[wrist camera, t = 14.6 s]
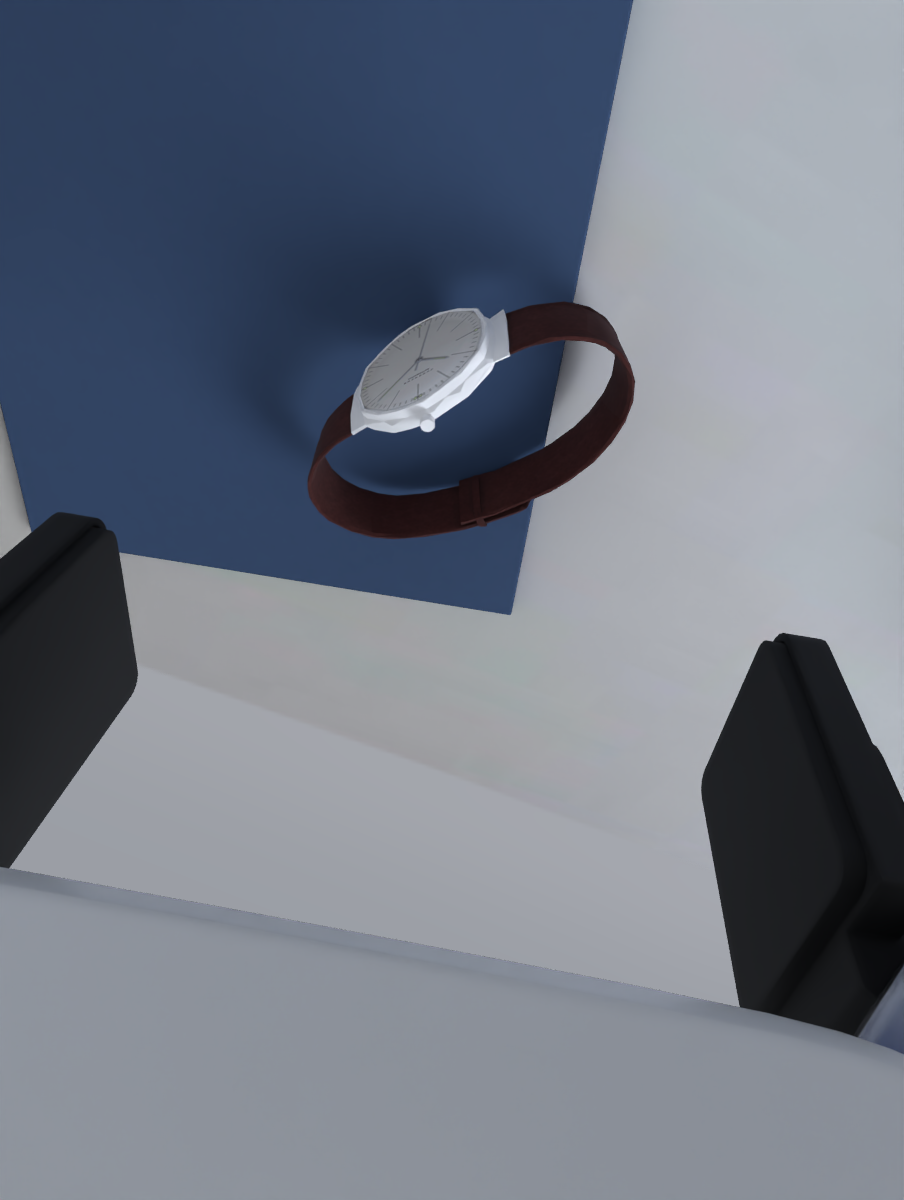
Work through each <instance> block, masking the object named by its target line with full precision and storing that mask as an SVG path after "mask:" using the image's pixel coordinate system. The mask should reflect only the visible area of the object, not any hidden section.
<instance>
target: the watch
mask: <svg viewBox="0 0 904 1200" xmlns="http://www.w3.org/2000/svg"><path fill="white" fill-rule="evenodd" d="M560 340H569V341H586V342H592V343H596V344H599V345H601V346H604V347H606V348H607V349H608V350H610V351H611V352H612V353H613V354H615V360H614V366H613V372H612V376H611V378H610V380H609V382H608V384H607V387H606V389H605V391H604V393H603V394H602V396H601V397H600V398H599V400H598V401H597V402H596V404H595V405H594V406H593V408H592V409H591V410H590V412H589V413H588V414H587V415H586V416H585V417H584V418H583V419H582V420H581V421H580V422H579V423H578V424H577V425H576V426H575V427H573V428H572V429H571V430H569V431H568V432H566V433H565V434H564V435H562V436H561V437H559V438H558V439H557V440H555V441H554V442H552V443H551V444H549V445H548V446H546V447H544V448H542V449H541V450H539V451H536V452H534V453H532V454H530V455H528V456H525V457H523V458H521V459H519V460H517V461H515V462H512V463H510V464H508V465H506V466H504V467H501V468H499V469H497V470H495V471H491V472H487V473H483V474H480V475H475V476H473V477H470V478H466V479H463V480H460V481H459V486H454V487H450V488H446V489H441V490H437V491H432V492H428V493H422V494H410V495H398V496H396V495H388V494H381V493H376V492H373V491H370V490H366V489H363V488H360V487H357V486H356V485H354V484H352V483H350V482H348V481H346V480H344V479H343V478H342V477H341V476H340V475H338V474H337V473H336V472H335V471H334V470H333V469H332V468H331V466H330V464H329V463H328V461H327V459H326V457H325V456H326V455H327V454H328V453H329V451H330V450H331V449H332V448H333V447H334V446H335V445H337V444H338V443H340V442H342V441H343V440H345V439H347V438H348V437H350V436H352V435H354V434H356V433H358V432H359V431H361V430H363V429H364V428H366V427H369V428H371V429H373V430H379V431H385V432H391V433H397V432H401V431H405V430H409V429H413V428H416V427H418V426H420V427H421V429H422V430H423V431H425V432H430V431H432V430H433V429H434V428H435V419H436V418H438V417H439V416H441V415H442V414H444V413H445V412H447V411H448V410H449V409H451V408H452V407H454V406H455V405H457V404H458V403H460V402H461V401H462V400H464V399H465V398H467V397H468V396H469V395H470V394H471V393H472V392H473V391H474V390H475V389H476V387H477V386H478V385H479V384H480V383H481V382H482V381H483V380H484V379H485V378H486V376H487V375H488V374H489V373H490V372H491V371H492V369H493V367H494V364H495V363H496V362H498V361H500V360H503V359H505V358H507V357H509V356H510V355H511V354H514V353H516V352H518V351H521V350H523V349H526V348H528V347H531V346H535V345H540V344H545V343H550V342H555V341H560ZM634 386H635V380H634V376H633V372H632V369H631V365H630V363H629V361H628V359H627V357H626V355H625V353H624V350H623V348H622V346H621V344H620V342H619V340H618V337H617V334H616V332H615V330H614V328H613V327H612V325H611V324H610V323H609V321H608V320H607V319H606V318H605V317H604V316H603V315H601V314H599V313H598V312H596V311H595V310H593V309H592V308H590V307H587V306H583V305H579V304H574V303H570V302H565V301H563V302H554V303H545V304H536V305H530V306H526V307H523V308H520V309H518V310H515V311H512V312H509V313H506V314H505V312H504V309H503V310H501V311H500V312H499V313H497V314H496V315H494V316H493V317H492V318H490V319H489V318H487V317H485V316H483V314H482V313H481V312H480V310H479V309H477V308H457V309H453V310H448V311H444V312H439V313H437V314H435V315H433V316H431V317H429V318H427V319H425V320H423V321H421V322H419V323H417V324H415V325H413V326H411V327H410V328H408V329H407V330H405V331H404V332H402V333H401V334H400V335H399V336H397V337H396V338H395V339H394V340H393V341H392V342H391V343H390V344H388V345H387V346H386V347H385V348H384V349H383V350H382V351H381V352H380V353H379V354H378V355H377V357H376V358H375V359H374V360H373V361H372V362H371V363H370V364H369V365H368V366H367V367H366V369H365V372H364V374H363V377H362V379H361V382H360V384H359V386H358V387H357V389H356V391H355V393H354V394H353V395H351V396H350V397H349V398H347V399H346V400H345V401H344V402H343V403H342V404H341V405H340V406H339V407H338V408H337V409H336V410H335V411H334V412H333V413H332V414H331V415H330V417H329V418H328V419H327V421H326V423H325V425H324V427H323V429H322V431H321V435H320V439H319V441H318V444H317V447H316V451H315V454H314V458H313V462H312V465H311V469H310V472H309V475H308V493H309V498H310V500H311V501H312V503H313V505H314V506H315V507H316V509H317V510H318V511H319V513H320V514H322V515H323V516H324V517H325V518H326V519H327V520H328V521H330V522H332V523H334V524H336V525H338V526H340V527H342V528H344V529H346V530H349V531H351V532H354V533H358V534H361V535H365V536H368V537H373V538H384V539H405V538H418V537H427V536H433V535H439V534H444V533H450V532H456V531H461V530H465V529H469V528H473V527H477V526H479V527H485V526H487V523H490V522H493V521H496V520H499V519H502V518H505V517H508V516H511V515H514V514H516V513H519V512H521V511H523V510H525V509H526V508H527V507H528V505H529V503H530V501H531V500H532V499H535V498H537V497H539V496H542V495H544V494H546V493H549V492H551V491H553V490H554V489H556V488H558V487H560V486H561V485H563V484H565V483H566V482H568V481H570V480H571V479H572V478H574V477H575V476H576V475H578V474H579V473H580V472H582V471H583V470H584V469H586V468H587V467H588V466H590V465H591V464H592V463H593V462H594V461H595V460H596V459H597V458H598V457H599V456H600V455H601V454H602V453H603V452H604V450H605V449H606V448H607V447H608V446H609V445H610V444H611V443H612V441H613V440H614V438H615V437H616V435H617V434H618V432H619V431H620V429H621V428H622V426H623V425H624V423H625V421H626V419H627V416H628V414H629V411H630V408H631V406H632V403H633V398H634Z"/></svg>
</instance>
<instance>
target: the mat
mask: <svg viewBox="0 0 904 1200" xmlns="http://www.w3.org/2000/svg"><path fill="white" fill-rule="evenodd" d="M632 3H633V0H0V404H1V408H2V412H3V416H4V421H5V425H6V429H7V433H8V437H9V441H10V445H11V449H12V454H13V458H14V462H15V466H16V470H17V474H18V478H19V482H20V487H21V491H22V495H23V499H24V503H25V507H26V511H27V515H28V520H29V524H30V528H31V532H33V531H34V530H35V529H36V528H38V527H39V526H40V525H41V524H42V523H43V522H45V521H46V520H47V519H48V518H49V517H50V516H52V515H53V514H55V513H57V512H65V513H71V514H77V515H83V516H89V517H95V518H99V519H100V520H102V521H103V523H104V524H105V526H106V529H107V530H111V531H113V532H114V534H115V535H116V538H117V543H118V549H119V552H121V553H127V554H134V555H140V556H146V557H152V558H159V559H165V560H171V561H177V562H183V563H190V564H196V565H202V566H208V567H215V568H221V569H227V570H233V571H239V572H246V573H252V574H258V575H264V576H271V577H277V578H283V579H289V580H295V581H302V582H308V583H314V584H320V585H326V586H333V587H339V588H345V589H351V590H358V591H364V592H370V593H376V594H382V595H389V596H395V597H401V598H407V599H414V600H420V601H426V602H432V603H438V604H445V605H451V606H457V607H463V608H469V609H476V610H482V611H488V612H494V613H501V614H507V615H510V614H511V612H512V607H513V602H514V597H515V592H516V587H517V582H518V577H519V572H520V567H521V562H522V557H523V552H524V547H525V542H526V537H527V532H528V527H529V522H530V517H531V512H532V507H533V501H534V499H532V500H531V501H530V503H529V505H528V507H527V508H526V509H525V510H523V511H521V512H519V513H516V514H514V515H511V516H508V517H505V518H502V519H499V520H496V521H493V522H490V523H487V526H485V527H479V526H477V527H473V528H469V529H465V530H461V531H456V532H450V533H444V534H439V535H433V536H427V537H418V538H405V539H384V538H373V537H368V536H365V535H361V534H358V533H354V532H351V531H349V530H346V529H344V528H342V527H340V526H338V525H336V524H334V523H332V522H330V521H328V520H327V519H326V518H325V517H324V516H323V515H322V514H320V513H319V511H318V510H317V509H316V507H315V506H314V505H313V503H312V501H311V500H310V498H309V493H308V475H309V472H310V469H311V465H312V462H313V458H314V454H315V451H316V447H317V444H318V441H319V439H320V435H321V431H322V429H323V427H324V425H325V423H326V421H327V419H328V418H329V417H330V415H331V414H332V413H333V412H334V411H335V410H336V409H337V408H338V407H339V406H340V405H341V404H342V403H343V402H344V401H345V400H346V399H347V398H349V397H350V396H351V395H353V394H354V393H355V391H356V389H357V387H358V386H359V384H360V382H361V379H362V377H363V374H364V372H365V369H366V367H367V366H368V365H369V364H370V363H371V362H372V361H373V360H374V359H375V358H376V357H377V355H378V354H379V353H380V352H381V351H382V350H383V349H384V348H385V347H386V346H387V345H388V344H390V343H391V342H392V341H393V340H394V339H395V338H396V337H397V336H399V335H400V334H401V333H402V332H404V331H405V330H407V329H408V328H410V327H411V326H413V325H415V324H417V323H419V322H421V321H423V320H425V319H427V318H429V317H431V316H433V315H435V314H437V313H439V312H444V311H448V310H453V309H457V308H477V309H479V310H480V312H481V313H482V314H483V316H485V317H487V318H489V319H490V318H492V317H493V316H494V315H496V314H497V313H499V312H500V311H501V310H503V309H504V312H505V314H506V313H509V312H512V311H515V310H518V309H520V308H523V307H526V306H530V305H536V304H545V303H554V302H563V301H565V302H570V303H573V300H574V295H575V290H576V285H577V280H578V275H579V270H580V265H581V260H582V255H583V250H584V245H585V240H586V235H587V230H588V225H589V220H590V215H591V210H592V205H593V200H594V195H595V190H596V184H597V179H598V174H599V169H600V164H601V159H602V154H603V149H604V144H605V139H606V134H607V129H608V124H609V119H610V114H611V109H612V104H613V99H614V94H615V89H616V84H617V79H618V74H619V69H620V64H621V59H622V54H623V49H624V44H625V39H626V34H627V29H628V23H629V18H630V13H631V8H632ZM564 346H565V340H560V341H555V342H550V343H545V344H540V345H535V346H531V347H528V348H526V349H523V350H521V351H518V352H516V353H514V354H511V355H510V356H509V357H507V358H505V359H503V360H500V361H498V362H496V363H495V364H494V367H493V369H492V371H491V372H490V373H489V374H488V375H487V376H486V378H485V379H484V380H483V381H482V382H481V383H480V384H479V385H478V386H477V387H476V389H475V390H474V391H473V392H472V393H471V394H470V395H469V396H468V397H467V398H465V399H464V400H462V401H461V402H460V403H458V404H457V405H455V406H454V407H452V408H451V409H449V410H448V411H447V412H445V413H444V414H442V415H441V416H439V417H438V418H436V419H435V428H434V429H433V430H432V431H430V432H425V431H423V430H422V429H421V427H420V426H418V427H416V428H413V429H409V430H405V431H401V432H397V433H391V432H385V431H379V430H373V429H371V428H369V427H366V428H364V429H363V430H361V431H359V432H358V433H356V434H354V435H352V436H350V437H348V438H347V439H345V440H343V441H342V442H340V443H338V444H337V445H335V446H334V447H333V448H332V449H331V450H330V451H329V453H328V454H327V455H326V456H325V457H326V459H327V461H328V463H329V464H330V466H331V468H332V469H333V470H334V471H335V472H336V473H337V474H338V475H340V476H341V477H342V478H343V479H344V480H346V481H348V482H350V483H352V484H354V485H356V486H357V487H360V488H363V489H366V490H370V491H373V492H376V493H381V494H388V495H396V496H398V495H410V494H422V493H428V492H432V491H437V490H441V489H446V488H450V487H454V486H459V481H460V480H463V479H466V478H470V477H473V476H475V475H480V474H483V473H487V472H491V471H495V470H497V469H499V468H501V467H504V466H506V465H508V464H510V463H512V462H515V461H517V460H519V459H521V458H523V457H525V456H528V455H530V454H532V453H534V452H536V451H539V450H541V449H542V448H544V446H545V441H546V436H547V431H548V426H549V421H550V416H551V411H552V406H553V401H554V396H555V391H556V386H557V381H558V376H559V371H560V366H561V361H562V356H563V351H564Z"/></svg>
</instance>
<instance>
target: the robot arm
mask: <svg viewBox="0 0 904 1200" xmlns="http://www.w3.org/2000/svg"><path fill="white" fill-rule="evenodd" d="M137 676H138V671H137V663H136V657H135V651H134V644H133V638H132V632H131V625H130V619H129V613H128V606H127V600H126V594H125V587H124V581H123V575H122V568H121V562H120V556H119V549H118V543H117V538H116V535H115V534H114V532H113V531H111V530H107V529H106V526H105V524H104V523H103V521H102V520H100V519H99V518H95V517H89V516H83V515H77V514H71V513H65V512H57V513H55V514H53V515H52V516H50V517H49V518H48V519H47V520H46V521H45V522H43V523H42V524H41V525H40V526H39V527H38V528H36V529H35V530H34V531H33V532H32V533H30V534H29V535H28V536H27V537H26V538H25V539H23V540H22V541H21V542H20V543H19V544H17V545H16V546H15V547H14V548H13V549H12V550H10V551H9V552H8V553H7V554H6V555H4V556H3V557H2V558H1V559H0V1200H904V802H903V800H902V797H901V795H900V793H899V791H898V789H897V786H896V784H895V782H894V780H893V778H892V775H891V773H890V771H889V769H888V767H887V765H886V762H885V760H884V758H883V756H882V754H881V753H880V751H879V750H878V748H877V746H875V745H874V744H873V743H872V741H871V739H870V737H869V734H868V732H867V730H866V728H865V725H864V723H863V721H862V719H861V717H860V714H859V712H858V710H857V708H856V706H855V703H854V701H853V699H852V697H851V694H850V692H849V690H848V688H847V686H846V683H845V681H844V679H843V677H842V674H841V672H840V670H839V668H838V666H837V663H836V661H835V659H834V657H833V654H832V652H831V650H830V648H829V646H828V644H827V643H826V641H824V640H822V639H816V638H810V637H804V636H798V635H792V634H786V633H781V634H779V635H778V636H777V637H776V638H775V640H774V641H773V642H772V641H763V643H762V644H761V645H760V647H759V648H758V651H757V653H756V655H755V657H754V660H753V662H752V664H751V666H750V669H749V671H748V673H747V675H746V678H745V680H744V682H743V684H742V687H741V689H740V691H739V694H738V696H737V698H736V700H735V703H734V705H733V707H732V709H731V712H730V714H729V716H728V718H727V721H726V723H725V725H724V728H723V730H722V732H721V734H720V737H719V739H718V741H717V743H716V746H715V748H714V750H713V752H712V755H711V757H710V759H709V761H708V764H707V766H706V768H705V771H704V774H703V778H702V786H701V793H702V801H703V806H704V812H705V817H706V823H707V828H708V834H709V839H710V845H711V850H712V856H713V861H714V867H715V873H716V878H717V884H718V889H719V894H720V900H721V906H722V911H723V917H724V922H725V928H726V933H727V938H728V944H729V950H730V955H731V961H732V966H733V972H734V977H735V983H736V989H737V994H738V1000H739V1005H740V1007H736V1006H731V1005H726V1004H722V1003H716V1002H712V1001H707V1000H702V999H698V998H693V997H688V996H683V995H679V994H674V993H669V992H664V991H659V990H654V989H650V988H645V987H640V986H635V985H630V984H625V983H620V982H614V981H609V980H604V979H599V978H593V977H588V976H583V975H578V974H573V973H567V972H563V971H557V970H552V969H546V968H542V967H537V966H531V965H526V964H521V963H516V962H511V961H505V960H500V959H495V958H490V957H485V956H479V955H474V954H469V953H463V952H459V951H453V950H448V949H443V948H438V947H433V946H427V945H421V944H417V943H411V942H406V941H401V940H395V939H390V938H385V937H379V936H374V935H369V934H363V933H357V932H353V931H347V930H342V929H337V928H331V927H326V926H320V925H315V924H310V923H305V922H299V921H294V920H289V919H283V918H278V917H272V916H267V915H262V914H256V913H251V912H245V911H240V910H234V909H229V908H224V907H219V906H213V905H208V904H203V903H197V902H192V901H186V900H181V899H175V898H170V897H164V896H159V895H153V894H148V893H142V892H136V891H131V890H126V889H120V888H115V887H109V886H103V885H98V884H92V883H86V882H81V881H76V880H70V879H65V878H59V877H54V876H48V875H43V874H37V873H31V872H26V871H21V870H15V869H9V868H10V866H11V865H12V863H13V862H14V861H15V859H16V858H17V856H18V855H19V854H20V852H21V851H22V849H23V848H24V847H25V845H26V844H27V842H28V841H29V839H30V838H31V837H32V835H33V834H34V832H35V831H36V830H37V828H38V827H39V825H40V824H41V823H42V821H43V820H44V818H45V817H46V815H47V814H48V813H49V811H50V810H51V808H52V807H53V806H54V804H55V803H56V801H57V800H58V799H59V797H60V796H61V794H62V793H63V791H64V790H65V789H66V787H67V786H68V784H69V783H70V782H71V780H72V779H73V777H74V776H75V775H76V773H77V772H78V770H79V769H80V767H81V766H82V765H83V763H84V762H85V760H86V759H87V758H88V756H89V755H90V753H91V752H92V751H93V749H94V748H95V746H96V745H97V744H98V742H99V741H100V739H101V738H102V736H103V735H104V734H105V732H106V731H107V729H108V728H109V727H110V725H111V724H112V722H113V721H114V720H115V718H116V717H117V715H118V714H119V712H120V711H121V710H122V708H123V707H124V705H125V704H126V702H127V701H128V700H129V698H130V697H131V695H132V693H133V692H134V689H135V686H136V683H137Z"/></svg>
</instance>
